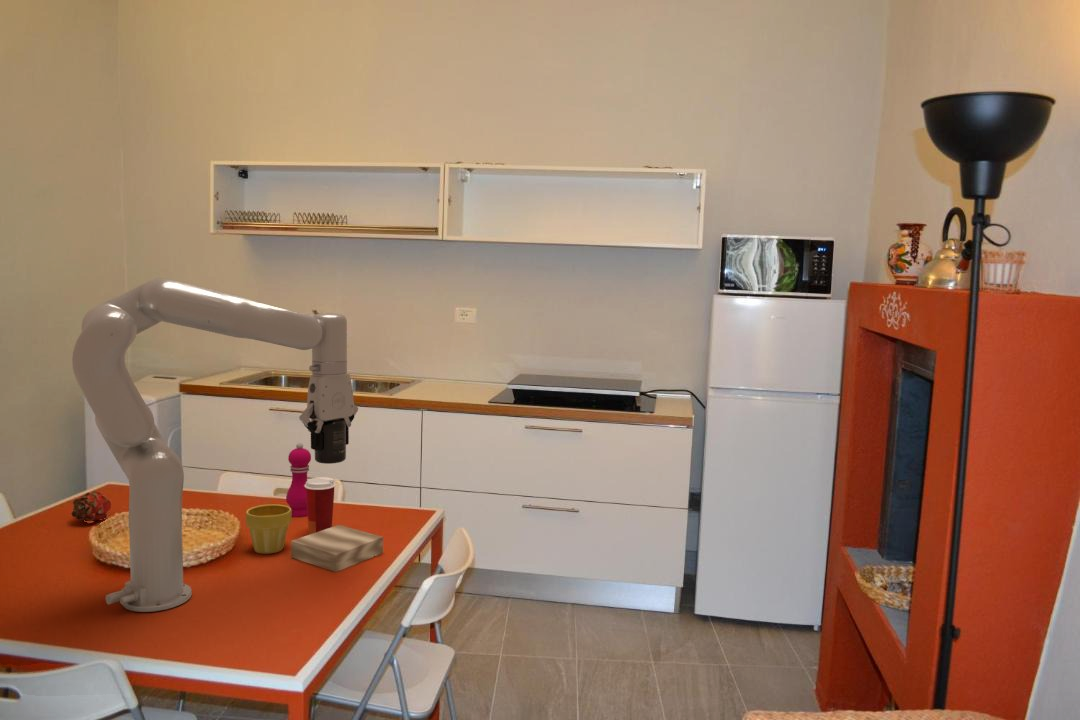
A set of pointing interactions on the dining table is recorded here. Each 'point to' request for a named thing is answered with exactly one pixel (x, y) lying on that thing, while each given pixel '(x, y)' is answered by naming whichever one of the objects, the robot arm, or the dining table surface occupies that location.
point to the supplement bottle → (332, 442)
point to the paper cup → (319, 503)
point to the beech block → (336, 547)
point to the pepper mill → (298, 480)
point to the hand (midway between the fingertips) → (330, 446)
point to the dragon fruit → (91, 507)
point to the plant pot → (268, 527)
